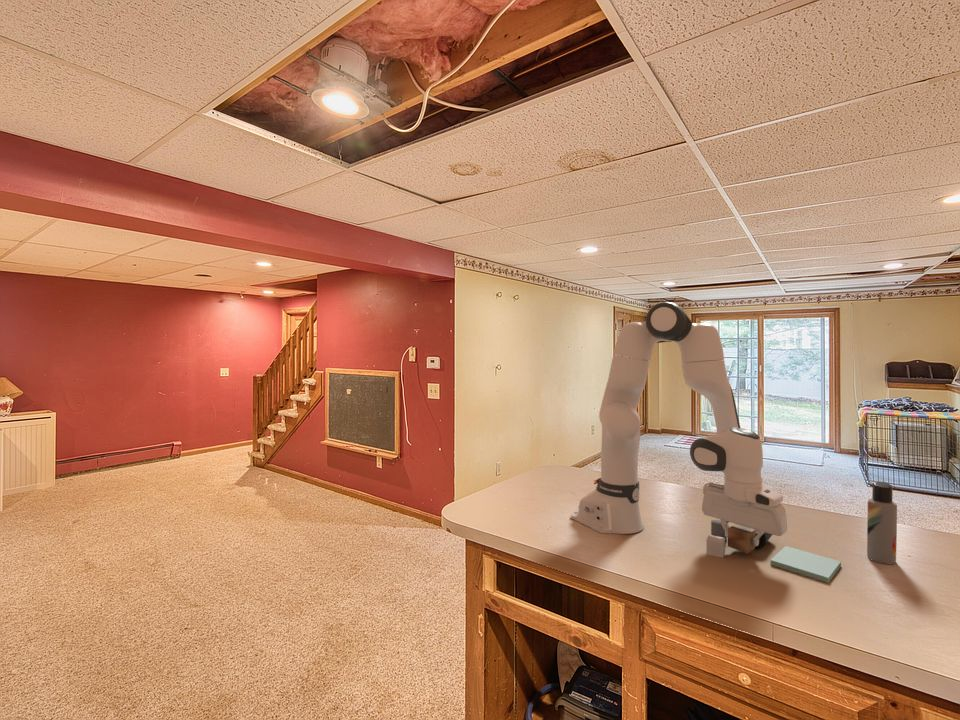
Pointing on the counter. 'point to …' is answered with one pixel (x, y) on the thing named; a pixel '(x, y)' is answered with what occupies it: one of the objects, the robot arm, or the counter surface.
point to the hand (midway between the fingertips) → (741, 540)
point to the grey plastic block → (715, 546)
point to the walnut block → (740, 538)
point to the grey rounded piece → (717, 529)
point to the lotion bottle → (882, 525)
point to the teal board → (806, 563)
